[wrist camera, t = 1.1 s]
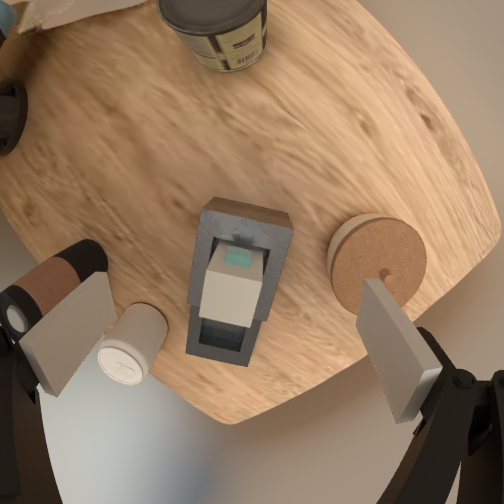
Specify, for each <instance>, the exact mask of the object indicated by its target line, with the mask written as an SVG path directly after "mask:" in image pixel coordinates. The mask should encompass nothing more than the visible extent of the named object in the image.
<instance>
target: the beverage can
mask: <svg viewBox="0 0 504 504" xmlns="http://www.w3.org/2000/svg"><path fill="white" fill-rule="evenodd" d="M167 332H168V327H167V323H166V320H165V318H164V317H163V315H162V314H161V313H160V312H159V311H158V310H156V309H155V308H153V307H152V306H150V305H147V304H142V303H137V304H133V305H131V306H129V307H128V308H127V309H126V310H125V312H124V313H123V314H122V316H121V317H120V318H119V320H118V321H117V322H116V324H115V325H114V326H113V328H112V329H111V330H110V332H109V333H108V334H107V336H106V337H105V338H104V340H103V341H102V342H101V344H100V346H99V351H98V362H99V365H100V367H101V368H102V370H103V371H104V372H105V373H106V374H107V375H108V376H109V377H110V378H112V379H113V380H115V381H117V382H119V383H122V384H125V385H136V384H138V383H139V382H140V381H142V380H143V379H144V378H145V377H146V376H147V375H148V373H149V371H150V369H151V367H152V365H153V362H154V360H155V358H156V356H157V354H158V352H159V350H160V348H161V346H162V343H163V341H164V339H165V337H166V335H167Z"/></svg>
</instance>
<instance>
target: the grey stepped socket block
mask: <svg viewBox="0 0 504 504" xmlns="http://www.w3.org/2000/svg"><path fill="white" fill-rule="evenodd" d="M292 232H293V227H292V224H291V222H290V219H289V216H288V213H285V212H281V211H276V210H272V209H268V208H264V207H259V206H255V205H251V204H246V203H242V202H237V201H233V200H228V199H223V198H219V197H213V198H212V199H211V200H210V201H209V202H208V203H207V204H206V205H205V206H204V207H203V208H202V210H201V215H200V221H199V227H198V233H197V239H196V245H195V251H194V257H193V264H192V270H191V277H190V284H189V292H188V299H187V304H190V305H192V306H191V313H190V320H189V328H188V336H187V344H186V354H190V355H194V356H198V357H203V358H207V359H211V360H216V361H220V362H225V363H230V364H235V365H240V366H245V367H248V364H249V361H250V357H251V354H252V351H253V348H254V344H255V341H256V338H257V334H258V331H259V328H260V324H261V321H267V318H268V315H269V311H270V308H271V305H272V301H273V298H274V295H275V291H276V288H277V285H278V281H279V278H280V274H281V271H282V268H283V264H284V261H285V257H286V254H287V250H288V247H289V243H290V239H291V236H292ZM220 239H226V240H230V241H235V242H239V243H244V244H248V245H253V246H257V247H261V248H263V283H262V286H261V290H260V294H259V297H258V301H257V305H256V308H255V312H254V316H253V319H252V323H251V326H250V328H248V327H244V326H239V325H234V324H230V323H225V322H221V321H216V320H212V319H208V318H203V317H199V311H200V305H201V299H202V293H203V287H204V281H205V275H206V270H207V267H208V265H209V263H210V261H211V259H212V257H213V254H214V252H215V250H216V248H217V246H218V244H219V242H220Z"/></svg>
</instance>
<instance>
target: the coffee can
mask: <svg viewBox="0 0 504 504" xmlns="http://www.w3.org/2000/svg"><path fill="white" fill-rule="evenodd" d="M157 10H158V13H159V15H160V17H161V19H162V20H163V21H164V22H165V23H166V24H167V25H168V26H169V27H171V28H172V29H173V30H174V31H175V33H176V34H177V35H178V36H179V37H180V38H181V40H182V41H183V42H184V43H185V44H186V46H187V47H188V48H189V49H190V50H191V52H192V53H193V54H194V56H195V57H196V59H197V60H198V61H199V62H200V63H201V64H202V65H204V66H205V67H207V68H209V69H211V70H215V71H219V72H233V71H238V70H242V69H244V68H247V67H248V66H250V65H252V64H253V63H255V62H256V61H257V60H258V59H259V58H260V57H261V56H262V55H263V53H264V51H265V49H266V46H267V0H157Z"/></svg>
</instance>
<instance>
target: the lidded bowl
mask: <svg viewBox="0 0 504 504" xmlns="http://www.w3.org/2000/svg"><path fill="white" fill-rule="evenodd" d="M426 260H427V257H426V250H425V246H424V243H423V241H422V239H421V237H420V235H419V234H418V233H417V231H416V230H415V229H414V228H413V227H411V226H410V225H408V224H407V223H405V222H403V221H401V220H398V219H396V218H394V217H391V216H388V215H385V214H380V213H365V214H360V215H357V216H355V217H353V218H351V219H349V220H348V221H346V222H345V223H344V224H343V225H342V226H341V227H340V228H339V229H338V230H337V231H336V233H335V234H334V236H333V238H332V239H331V242H330V245H329V248H328V252H327V269H328V275H329V278H330V281H331V285H332V288H333V291H334V293H335V296H336V298H337V300H338V301H339V302H340V304H341V305H342V306H343V307H344V308H345V309H346V310H348V311H349V312H351V313H353V314H356V315H358V312H359V308H360V303H361V297H362V292H363V287H364V281H365V279H379V280H380V281H381V282H382V283H383V285H384V286H385V287H386V288H387V290H388V291H389V292H390V294H391V295H392V296H393V297H394V299H395V300H396V301H397V303H398V304H399V305H400V307H402V306H403V305H405V304H406V303H407V302H408V301H409V300H410V299H411V298H412V297H413V295H414V294H415V293H416V291H417V290H418V288H419V286H420V284H421V282H422V280H423V277H424V274H425V270H426Z"/></svg>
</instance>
